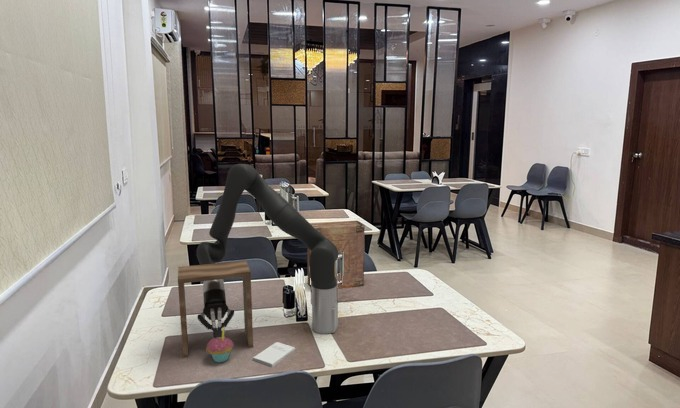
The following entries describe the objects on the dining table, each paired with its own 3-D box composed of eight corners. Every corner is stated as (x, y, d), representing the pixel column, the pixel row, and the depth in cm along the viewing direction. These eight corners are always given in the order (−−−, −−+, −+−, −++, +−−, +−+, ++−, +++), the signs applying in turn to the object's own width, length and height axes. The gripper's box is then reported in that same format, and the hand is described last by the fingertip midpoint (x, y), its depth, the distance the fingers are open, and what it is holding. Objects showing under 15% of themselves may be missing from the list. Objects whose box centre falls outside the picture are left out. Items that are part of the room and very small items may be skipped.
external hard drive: (252, 361, 144) (276, 345, 155) (272, 368, 140) (295, 351, 151) (252, 357, 144) (276, 341, 155) (272, 363, 140) (295, 347, 151)
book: (312, 292, 203) (311, 228, 197) (307, 285, 211) (306, 224, 206) (363, 285, 210) (364, 224, 205) (357, 279, 219) (357, 220, 214)
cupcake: (238, 354, 148) (237, 321, 146) (224, 367, 140) (223, 332, 138) (216, 350, 150) (214, 317, 148) (201, 363, 142) (199, 328, 140)
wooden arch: (183, 340, 157) (178, 266, 152) (248, 331, 164) (245, 260, 159) (183, 358, 145) (177, 279, 140) (253, 347, 152) (250, 271, 147)
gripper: (194, 290, 153) (197, 339, 144) (233, 285, 157) (238, 333, 148) (195, 298, 159) (197, 346, 150) (232, 294, 163) (237, 340, 154)
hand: (217, 339), depth 149 cm, fingers closed
